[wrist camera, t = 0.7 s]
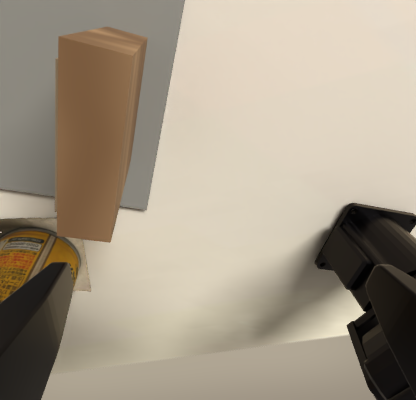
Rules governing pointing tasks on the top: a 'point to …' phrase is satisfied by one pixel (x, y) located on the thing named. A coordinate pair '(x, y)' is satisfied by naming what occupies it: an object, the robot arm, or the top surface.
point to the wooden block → (94, 127)
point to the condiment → (37, 253)
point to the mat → (45, 84)
